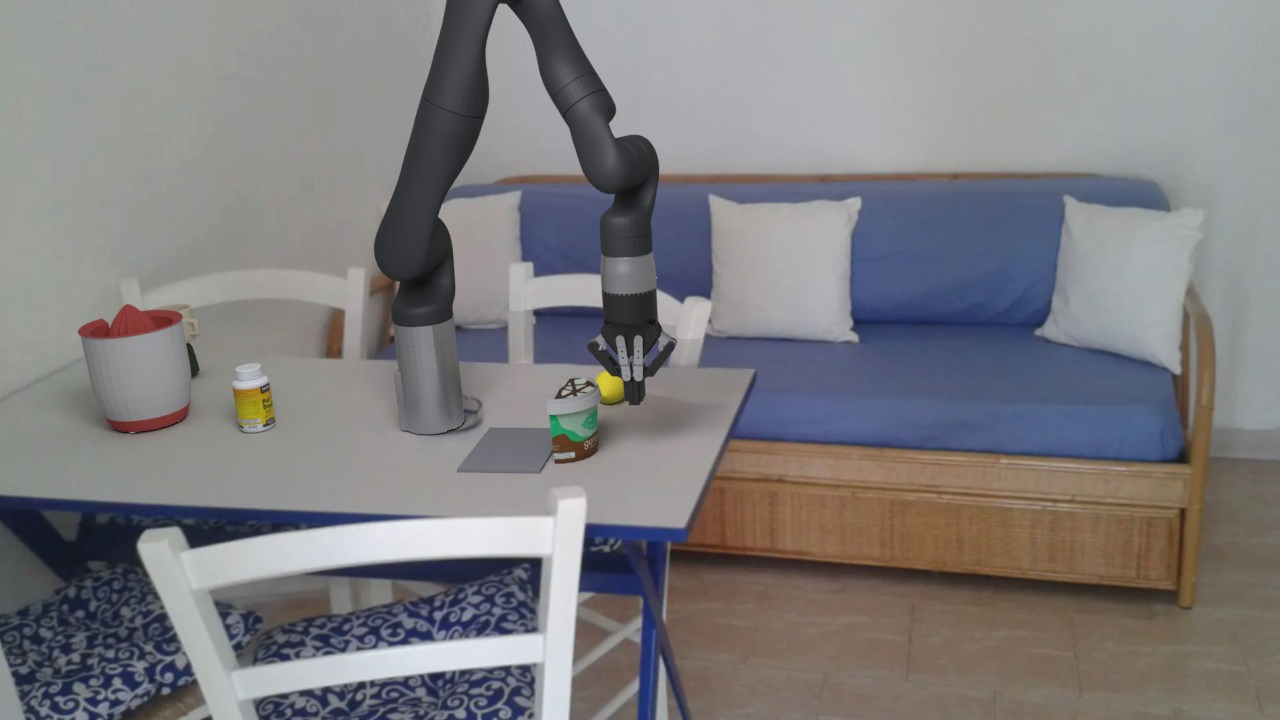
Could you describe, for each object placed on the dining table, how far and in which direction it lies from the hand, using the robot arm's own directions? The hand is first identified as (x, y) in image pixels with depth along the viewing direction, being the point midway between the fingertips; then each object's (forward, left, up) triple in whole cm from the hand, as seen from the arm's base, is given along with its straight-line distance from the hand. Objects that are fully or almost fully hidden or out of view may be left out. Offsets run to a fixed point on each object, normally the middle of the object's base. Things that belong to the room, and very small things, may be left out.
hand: (635, 403), depth 161 cm
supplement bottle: (-63, +8, -8) cm, 64 cm away
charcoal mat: (-18, 0, -7) cm, 20 cm away
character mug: (-91, +33, -8) cm, 97 cm away
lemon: (-8, +21, -8) cm, 24 cm away
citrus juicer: (-84, +11, -8) cm, 85 cm away
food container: (-8, 0, -8) cm, 11 cm away
